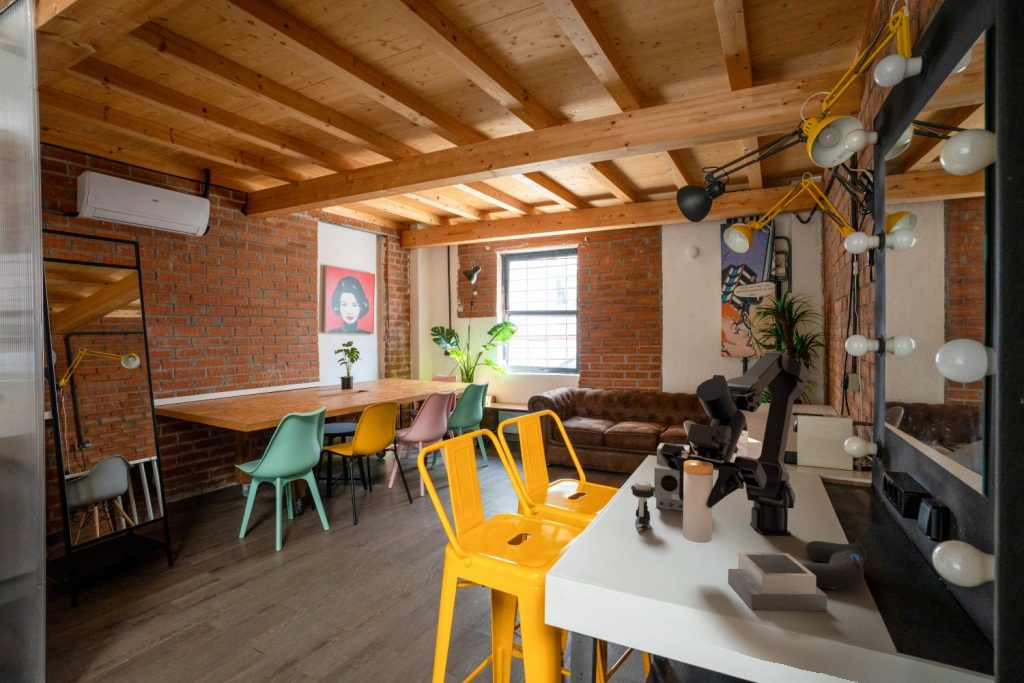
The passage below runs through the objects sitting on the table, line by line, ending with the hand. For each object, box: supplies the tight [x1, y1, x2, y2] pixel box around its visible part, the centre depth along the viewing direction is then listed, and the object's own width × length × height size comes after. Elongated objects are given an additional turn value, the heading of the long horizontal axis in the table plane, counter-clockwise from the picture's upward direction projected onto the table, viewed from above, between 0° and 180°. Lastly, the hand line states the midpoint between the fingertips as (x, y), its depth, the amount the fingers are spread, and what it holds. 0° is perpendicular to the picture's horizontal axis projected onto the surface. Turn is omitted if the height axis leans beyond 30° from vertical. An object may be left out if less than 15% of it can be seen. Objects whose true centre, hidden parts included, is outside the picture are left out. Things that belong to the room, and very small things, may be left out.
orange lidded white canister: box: [682, 460, 714, 544], centre depth 94 cm, size 5×5×14 cm
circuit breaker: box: [653, 442, 691, 512], centre depth 130 cm, size 8×14×15 cm, turn 158°
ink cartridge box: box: [733, 431, 763, 461], centre depth 161 cm, size 9×5×15 cm, turn 5°
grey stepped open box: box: [727, 552, 828, 612], centre depth 86 cm, size 12×9×6 cm
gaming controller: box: [801, 538, 868, 589], centre depth 94 cm, size 17×6×10 cm
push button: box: [630, 480, 655, 532], centre depth 117 cm, size 7×5×10 cm
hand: (694, 502), depth 93 cm, fingers closed on orange lidded white canister, 5 cm apart
